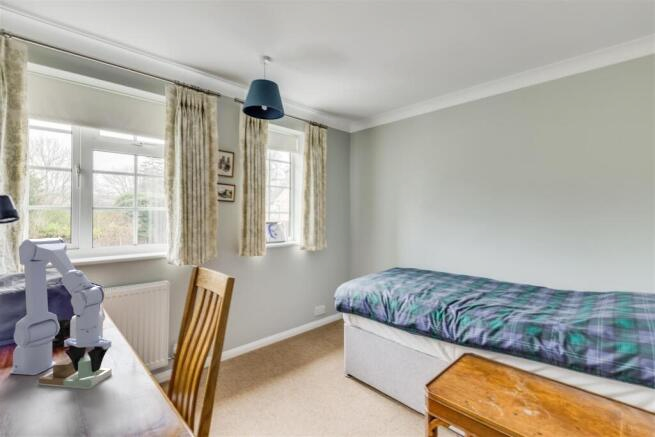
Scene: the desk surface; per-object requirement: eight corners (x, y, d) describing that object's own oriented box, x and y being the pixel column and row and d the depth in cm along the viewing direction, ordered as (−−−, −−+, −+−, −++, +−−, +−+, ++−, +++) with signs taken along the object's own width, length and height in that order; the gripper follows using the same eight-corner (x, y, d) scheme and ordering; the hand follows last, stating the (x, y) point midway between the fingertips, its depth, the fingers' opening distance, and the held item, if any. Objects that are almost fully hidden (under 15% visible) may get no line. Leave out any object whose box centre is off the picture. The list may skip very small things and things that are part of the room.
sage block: (80, 373, 92) (80, 357, 92) (96, 369, 94) (96, 354, 94) (78, 379, 89) (78, 362, 89) (94, 375, 91) (94, 359, 91)
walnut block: (53, 381, 90) (53, 365, 90) (62, 374, 94) (62, 358, 94) (67, 380, 91) (67, 364, 91) (76, 373, 95) (76, 358, 94)
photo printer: (102, 338, 123) (102, 308, 123) (103, 341, 120) (103, 311, 120) (70, 344, 116) (70, 313, 116) (69, 348, 113) (69, 316, 113)
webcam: (61, 348, 113) (61, 322, 113) (42, 348, 113) (42, 322, 113) (78, 339, 121) (78, 315, 121) (61, 339, 121) (61, 315, 121)
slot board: (38, 384, 89) (38, 378, 89) (65, 370, 97) (65, 365, 97) (88, 388, 87) (88, 382, 87) (111, 374, 95) (111, 368, 95)
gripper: (119, 323, 94) (119, 364, 94) (79, 320, 96) (79, 361, 96) (100, 331, 87) (99, 376, 87) (57, 329, 89) (57, 373, 89)
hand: (87, 369), depth 91 cm, fingers closed on sage block, 5 cm apart
